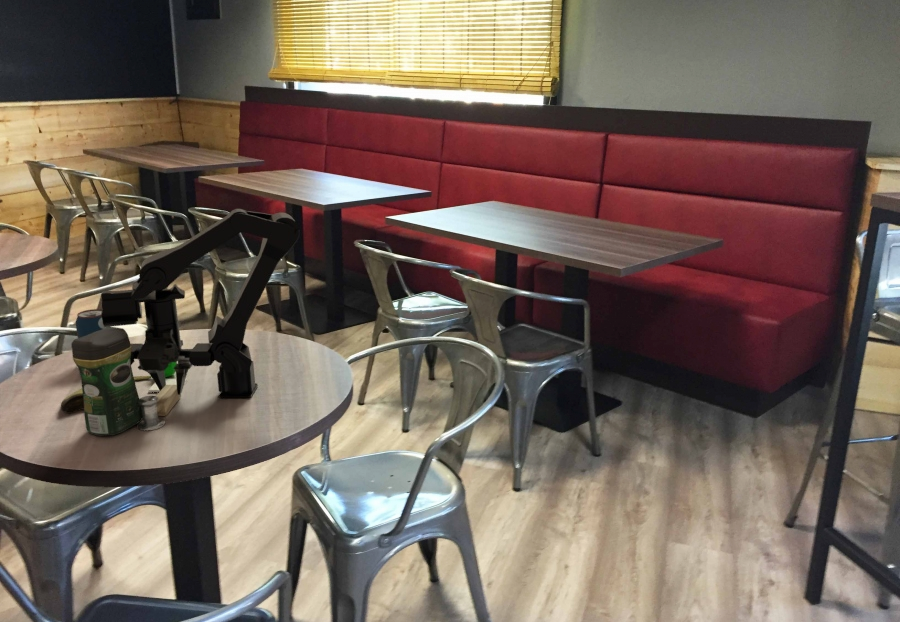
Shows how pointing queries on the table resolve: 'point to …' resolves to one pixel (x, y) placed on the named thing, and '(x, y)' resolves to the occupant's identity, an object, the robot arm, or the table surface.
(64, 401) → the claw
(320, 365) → the table surface
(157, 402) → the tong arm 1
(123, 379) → the coffee jar
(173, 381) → the coaster
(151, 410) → the grey spool
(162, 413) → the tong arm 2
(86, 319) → the soda can
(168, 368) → the polyhedron
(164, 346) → the robot arm
